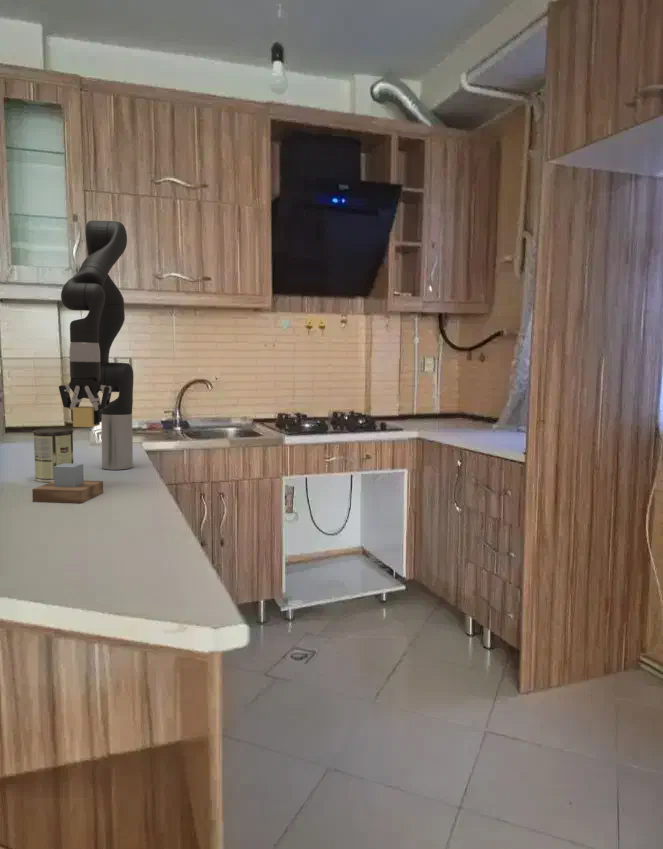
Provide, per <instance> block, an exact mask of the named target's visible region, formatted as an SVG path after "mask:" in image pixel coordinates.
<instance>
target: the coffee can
mask: <svg viewBox="0 0 663 849" xmlns="http://www.w3.org/2000/svg"><path fill="white" fill-rule="evenodd" d="M32 433H33V447H34V448H33V449H34V450H33V451H34V453H33V454H34V473H35V474H34V475H35V479H34V481H36V482H38V483H39V482H41V483H50V482H53V481H54V466H57V465H60V464H63V463H71V464H74V438H73V437H74V436H73V434H74V429H73V428H68V427H52V428H51V427H50V428H38V429H33V431H32Z"/></svg>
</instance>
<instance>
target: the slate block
mask: <svg viewBox="0 0 663 849" xmlns="http://www.w3.org/2000/svg"><path fill="white" fill-rule="evenodd" d="M84 481H85V479H84V463H73V464H71V463H63V464H60V465H57V466H54V487H76V486H79V485H81V484H83V483H84Z"/></svg>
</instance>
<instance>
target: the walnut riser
mask: <svg viewBox="0 0 663 849" xmlns="http://www.w3.org/2000/svg"><path fill="white" fill-rule="evenodd" d="M31 491H32V502H38V503H60V504H61V503H62V504H63V503H64V504H68V503H69V504H82V503H85V502H87V501H89V500H91V499H93V498H95V497H97V496H99V495H101V494H103V493H104V481H103V480H84V483H83V484H81V485H79V486H76V487H54V481H53V482H47V483H45V484H42V485H40V486H38V487H35V488H32V490H31Z"/></svg>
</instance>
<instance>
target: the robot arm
mask: <svg viewBox="0 0 663 849" xmlns="http://www.w3.org/2000/svg"><path fill="white" fill-rule="evenodd" d="M85 243H86V250H87V257H86V258H85V259H84V260H83V262H82V263H81V265H80V267H79V270H78V272H77V273H75V274H74V275H73V276H72V277H71V278H69V279H68V280H67V281H66V282H65V283H64V285H63V287H62V289H61V291H60V292H61V293H60V300H61V302H62V304H63V306H64V307H65V308H66V309H68V310H70V311H88V314H87V315H86V316H85V317H83V318H80V319H74V320H71V322H70V324H69V339H70V340H69V341H70V342H69V350H68V351H69V352H68V353H69V356H68V359H69V377H70V381H69V382H68V384H61V385H59V386H58V390H59V391H58V392H59V394H60V398H61V402H62V406H63V408H67V409H69V410H70V415H71V416H70V417H71V418H70V419H71V420H70V421H71V422H72V423H73V408H74V407H80V406H81V402H82V401H83V399H86V400H87V399H88V400H89V402H90V403H91V405H92V407H93V408H94V410H95V411H94V425H98V424H100V426H101V468H102V469H104V470H108V471H109V470H113V471H114V470H115V471H116V470H117V471H118V470H128V469H132V468H133V467H134V464H133V463H134V461H133V460H134V458H133V457H134V456H133V455H134V454H133V453H134V451H133V448H134V447H133V444H134V443H133V439H134V436H133V405H134V404H133V403H134V402H133V401H134V400H133V398H134V370H133V367H132V365H131V364H130V363H129V362H110V360H109V359H110V351H111V347H112V345H113V343H114V341H115V339H116V338H117V336H118V334H119V332H120V331H121V329H122V327H123V326H124V324H125V323H124V322H125V321H126V320H125V319H126V317H125V300H124V297H123V294H122V292H121V291H120V290H119V288H118V286H117V285H116V284H115V282H114V281H113V279H112V278H111V277H110V275H109V273H110V271H111V269H112V268H113V267H114V266H115V264H116V262H118V260H119V259H120V258H121V257H122V255H123V254H124V252H125V250H126V249H127V245H128V234H127V229H126V227H125V225H124V224H123V223H121V221H115V220H89V221H88V222H87V223H86V225H85ZM70 392H72V393H73V394H72V397H71V395H70ZM99 392H101V393H102V397H101V399H100V396H99ZM112 393H118V396H117V398H116V399H114V400H112V401H111V397H112ZM98 426H99V425H98Z"/></svg>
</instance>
